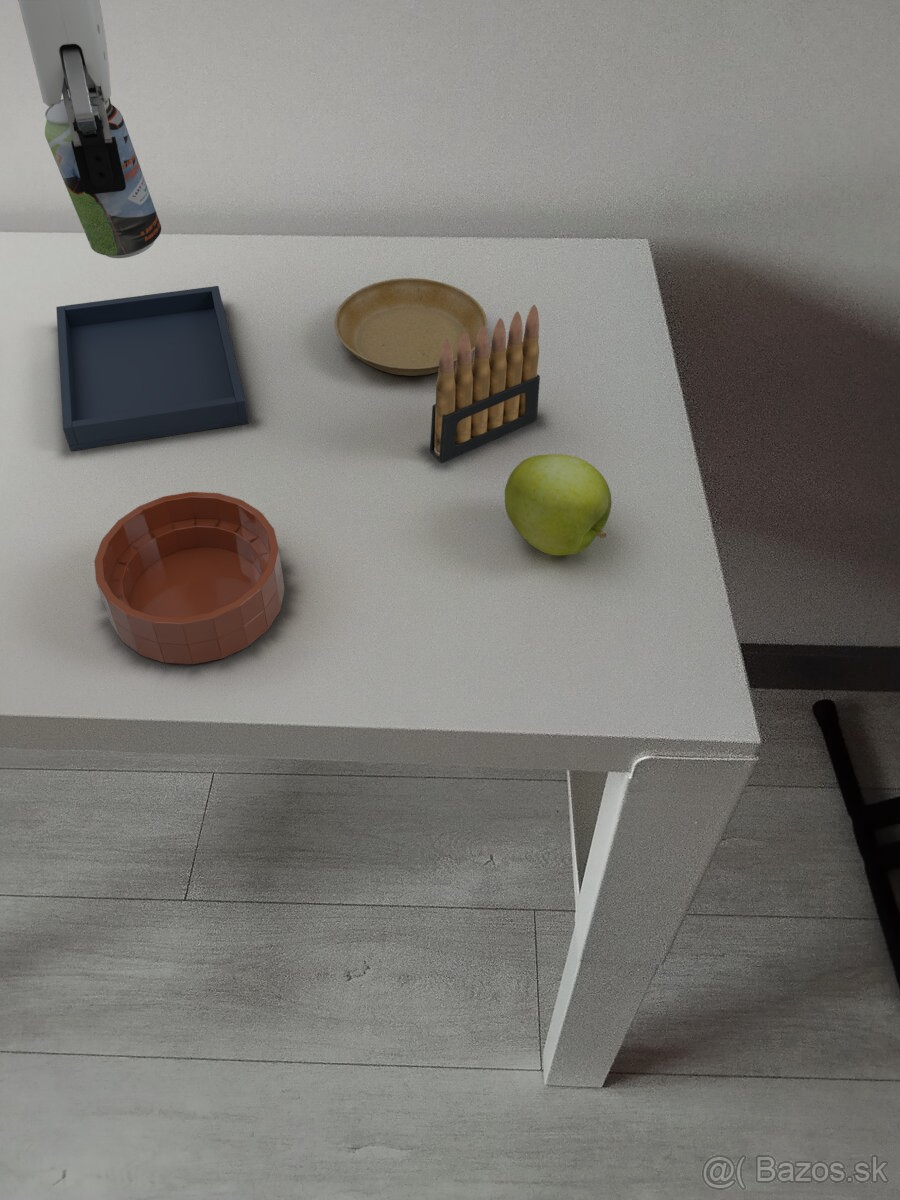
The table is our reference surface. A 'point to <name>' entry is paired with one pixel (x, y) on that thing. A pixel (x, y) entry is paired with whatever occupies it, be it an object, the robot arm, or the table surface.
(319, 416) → the table surface
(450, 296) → the plant saucer
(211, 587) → the bowl
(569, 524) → the apple
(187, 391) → the tray
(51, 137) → the beverage can
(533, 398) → the ammunition clip
